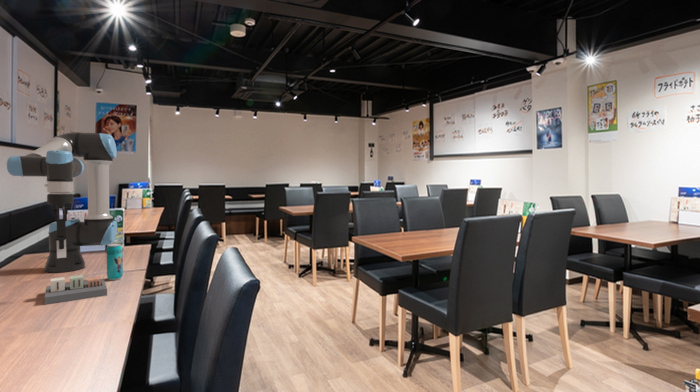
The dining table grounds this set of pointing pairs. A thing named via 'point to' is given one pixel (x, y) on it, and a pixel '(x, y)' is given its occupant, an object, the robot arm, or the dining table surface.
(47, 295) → the tile board
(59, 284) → the cream cube
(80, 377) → the dining table surface
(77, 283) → the tile two bar
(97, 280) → the orange cube
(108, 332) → the dining table surface
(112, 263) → the beverage can
